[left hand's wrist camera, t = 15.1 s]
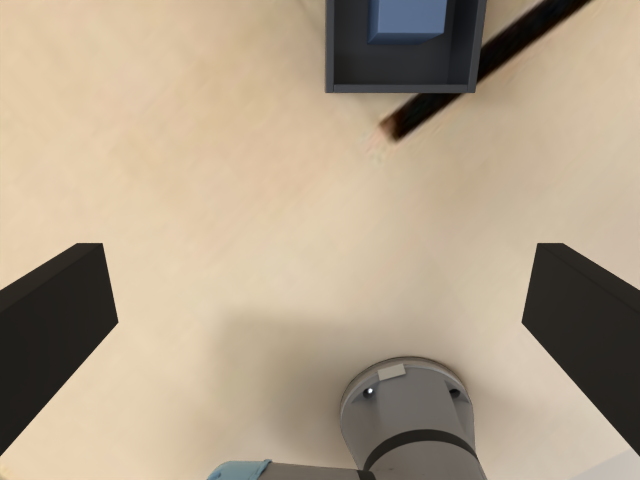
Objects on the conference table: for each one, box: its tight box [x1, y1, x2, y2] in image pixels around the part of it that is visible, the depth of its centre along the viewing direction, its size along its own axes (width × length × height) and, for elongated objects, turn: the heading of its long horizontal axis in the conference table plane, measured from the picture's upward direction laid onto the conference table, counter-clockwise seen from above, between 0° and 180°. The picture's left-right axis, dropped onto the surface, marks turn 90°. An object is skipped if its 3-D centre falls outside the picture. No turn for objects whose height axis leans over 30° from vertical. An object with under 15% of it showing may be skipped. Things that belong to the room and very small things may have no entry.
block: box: [367, 0, 447, 45], centre depth 29 cm, size 4×4×7 cm
